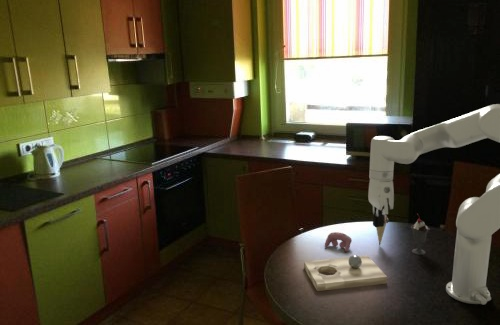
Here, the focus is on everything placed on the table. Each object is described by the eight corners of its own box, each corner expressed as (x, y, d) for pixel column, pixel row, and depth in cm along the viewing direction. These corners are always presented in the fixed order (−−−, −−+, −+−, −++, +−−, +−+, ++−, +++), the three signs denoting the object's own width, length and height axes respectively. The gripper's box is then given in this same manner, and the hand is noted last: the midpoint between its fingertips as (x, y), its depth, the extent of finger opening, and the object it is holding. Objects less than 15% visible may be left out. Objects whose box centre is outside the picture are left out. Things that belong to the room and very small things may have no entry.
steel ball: (363, 270, 151) (364, 258, 150) (351, 271, 151) (351, 259, 149) (358, 263, 156) (358, 252, 154) (346, 265, 155) (346, 253, 154)
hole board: (386, 283, 147) (386, 276, 146) (317, 291, 144) (317, 284, 143) (367, 261, 162) (367, 255, 162) (304, 267, 159) (304, 261, 158)
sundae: (412, 246, 173) (415, 210, 169) (430, 251, 169) (433, 214, 165) (406, 252, 168) (408, 216, 164) (424, 257, 164) (427, 220, 160)
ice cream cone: (389, 245, 174) (391, 210, 171) (383, 250, 170) (384, 214, 167) (376, 241, 178) (378, 207, 175) (369, 246, 174) (371, 211, 170)
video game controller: (350, 253, 173) (353, 235, 174) (347, 252, 169) (350, 234, 170) (327, 247, 178) (330, 230, 179) (323, 247, 174) (326, 229, 175)
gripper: (402, 179, 138) (399, 234, 142) (382, 167, 152) (379, 217, 157) (380, 181, 137) (377, 236, 141) (361, 168, 151) (359, 218, 156)
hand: (378, 225), depth 149 cm, fingers closed
